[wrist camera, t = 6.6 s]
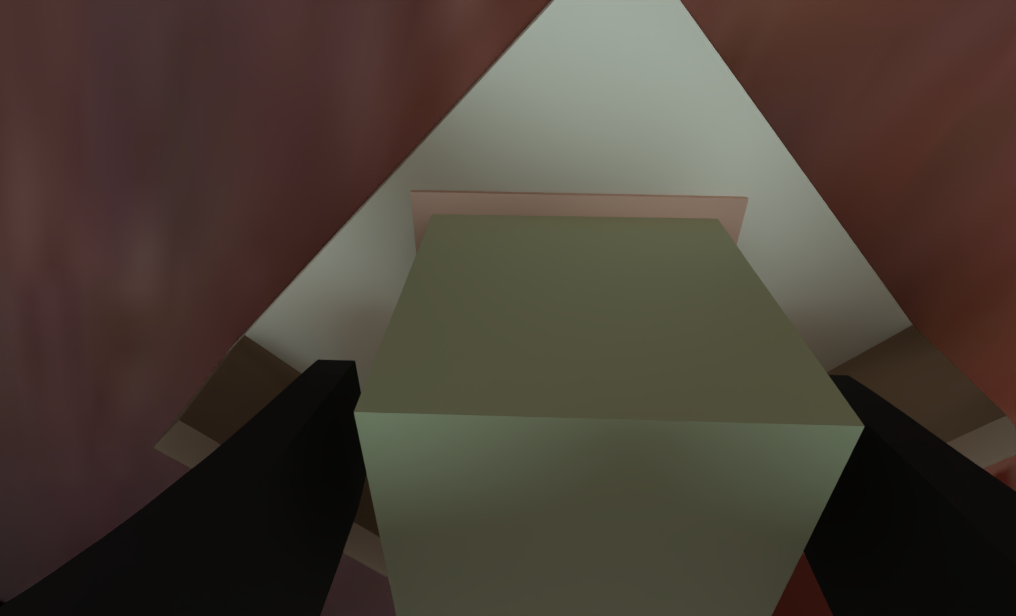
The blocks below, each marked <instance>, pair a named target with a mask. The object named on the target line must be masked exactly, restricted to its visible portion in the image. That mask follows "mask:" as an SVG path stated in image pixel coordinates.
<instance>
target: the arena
mask: <svg viewBox="0 0 1016 616" xmlns="http://www.w3.org/2000/svg"><path fill="white" fill-rule="evenodd" d="M432 214H452V215H517V216H581V217H645V218H709V219H718V220H719V221H720V223H721V224H722V226H723V227H724V229H725V230H726V231H727V233H728V234H729V236H730V237H731V238H732V240H733V241H734V243H735V244H736V245H737V247H738V248H739V250H740V251H741V252H742V254H743V255H744V257H745V258H746V260H747V261H748V262H749V264H750V265H751V267H752V268H753V269H754V271H755V272H756V274H757V275H758V276H759V278H760V279H761V281H762V282H763V284H764V285H765V286H766V288H767V289H768V291H769V292H770V293H771V295H772V296H773V298H774V299H775V300H776V302H777V303H778V305H779V306H780V308H781V309H782V310H783V312H784V313H785V315H786V316H787V317H788V319H789V320H790V322H791V323H792V324H793V326H794V327H795V329H796V330H797V332H798V333H799V334H800V336H801V337H802V339H803V340H804V341H805V343H806V344H807V346H808V347H809V348H810V350H811V351H812V353H813V354H814V356H815V357H816V358H817V360H818V361H819V363H820V364H821V365H822V367H823V368H824V370H825V371H826V372H827V374H828V375H848V376H850V377H852V378H853V379H855V380H856V381H858V382H860V383H861V384H863V385H864V386H866V387H867V388H869V389H870V390H872V391H873V392H875V393H876V394H878V395H879V396H881V397H882V398H884V399H885V400H886V401H888V402H889V403H891V404H892V405H894V406H895V407H896V408H898V409H899V410H901V411H902V412H904V413H905V414H906V415H908V416H909V417H911V418H912V419H913V420H915V421H916V422H918V423H919V424H920V425H922V426H923V427H925V428H926V429H927V430H929V431H930V432H932V433H933V434H934V435H936V436H937V437H939V438H940V439H941V440H943V441H944V442H946V443H947V444H948V445H950V446H951V447H953V448H954V449H955V450H957V451H958V452H960V453H961V454H963V455H964V456H965V457H967V458H968V459H970V460H971V461H972V462H974V463H975V464H977V465H978V466H980V467H981V468H982V469H983V468H985V467H987V466H990V465H992V464H994V463H997V462H999V461H1001V460H1004V459H1006V458H1008V457H1011V456H1013V455H1015V454H1016V428H1015V427H1014V425H1013V424H1012V422H1011V421H1010V420H1009V418H1008V417H1007V415H1006V414H1005V413H1004V412H1003V411H1002V410H1001V409H1000V408H999V407H997V406H996V405H995V404H994V403H993V402H992V401H991V400H990V399H989V398H988V397H987V396H986V395H985V394H984V393H983V392H982V391H981V390H980V389H979V388H978V387H977V386H976V385H975V384H974V383H973V382H972V381H971V380H969V379H968V378H967V377H966V376H965V375H964V374H963V373H962V372H961V371H960V370H959V369H958V368H957V367H956V366H955V365H954V364H953V363H952V362H951V361H950V360H949V359H948V358H947V357H946V356H945V355H944V354H943V353H941V352H940V351H939V350H938V349H937V348H936V347H935V346H934V345H933V344H932V343H931V342H930V341H929V340H928V339H927V338H926V337H925V336H924V335H923V334H922V333H921V332H920V331H919V330H918V329H917V328H916V327H915V326H913V324H912V323H911V322H910V320H909V319H908V317H907V316H906V315H905V313H904V312H903V311H902V309H901V308H900V306H899V305H898V304H897V302H896V301H895V299H894V298H893V297H892V295H891V294H890V292H889V291H888V290H887V288H886V287H885V285H884V284H883V283H882V281H881V280H880V278H879V277H878V276H877V274H876V273H875V271H874V270H873V269H872V267H871V266H870V265H869V263H868V262H867V260H866V259H865V258H864V256H863V255H862V253H861V252H860V251H859V249H858V248H857V246H856V245H855V244H854V242H853V241H852V239H851V238H850V237H849V235H848V234H847V232H846V231H845V230H844V228H843V227H842V226H841V224H840V223H839V221H838V220H837V219H836V217H835V216H834V214H833V213H832V212H831V210H830V209H829V207H828V206H827V205H826V203H825V202H824V200H823V199H822V198H821V196H820V195H819V193H818V192H817V191H816V189H815V188H814V186H813V185H812V184H811V182H810V181H809V180H808V178H807V177H806V175H805V174H804V173H803V171H802V170H801V168H800V167H799V166H798V164H797V163H796V161H795V160H794V159H793V157H792V156H791V154H790V153H789V152H788V150H787V149H786V147H785V146H784V145H783V143H782V142H781V140H780V139H779V138H778V136H777V135H776V134H775V132H774V131H773V129H772V128H771V127H770V125H769V124H768V122H767V121H766V120H765V118H764V117H763V115H762V114H761V113H760V111H759V110H758V108H757V107H756V106H755V104H754V103H753V101H752V100H751V99H750V97H749V96H748V95H747V93H746V92H745V90H744V89H743V88H742V86H741V85H740V83H739V82H738V81H737V79H736V78H735V76H734V75H733V74H732V72H731V71H730V69H729V68H728V67H727V65H726V64H725V62H724V61H723V60H722V58H721V57H720V55H719V54H718V53H717V51H716V50H715V49H714V47H713V46H712V44H711V43H710V42H709V40H708V39H707V37H706V36H705V35H704V33H703V32H702V30H701V29H700V28H699V26H698V25H697V23H696V22H695V21H694V19H693V18H692V16H691V15H690V14H689V12H688V11H687V9H686V8H685V7H684V5H683V4H682V3H681V1H680V0H551V1H550V2H549V3H548V5H547V6H546V7H545V8H544V9H543V10H542V11H541V12H540V13H539V14H538V15H537V16H536V18H535V19H534V20H533V21H532V22H531V23H530V24H529V25H528V26H527V27H526V28H525V29H524V31H523V32H522V33H521V34H520V35H519V36H518V37H517V38H516V39H515V40H514V41H513V42H512V44H511V45H510V46H509V47H508V48H507V49H506V50H505V51H504V52H503V53H502V54H501V55H500V57H499V58H498V59H497V60H496V61H495V62H494V63H493V64H492V65H491V66H490V67H489V68H488V70H487V71H486V72H485V73H484V74H483V75H482V76H481V77H480V78H479V79H478V80H477V81H476V83H475V84H474V85H473V86H472V87H471V88H470V89H469V90H468V91H467V92H466V93H465V94H464V96H463V97H462V98H461V99H460V100H459V101H458V102H457V103H456V104H455V105H454V106H453V107H452V109H451V110H450V111H449V112H448V113H447V114H446V115H445V116H444V117H443V118H442V119H441V120H440V122H439V123H438V124H437V125H436V126H435V127H434V128H433V129H432V130H431V131H430V132H429V133H428V135H427V136H426V137H425V138H424V139H423V140H422V141H421V142H420V143H419V144H418V145H417V146H416V148H415V149H414V150H413V151H412V152H411V153H410V154H409V155H408V156H407V157H406V158H405V159H404V161H403V162H402V163H401V164H400V165H399V166H398V167H397V168H396V169H395V170H394V171H393V172H392V174H391V175H390V176H389V177H388V178H387V179H386V180H385V181H384V182H383V183H382V184H381V185H380V187H379V188H378V189H377V190H376V191H375V192H374V193H373V194H372V195H371V196H370V197H369V198H368V200H367V201H366V202H365V203H364V204H363V205H362V206H361V207H360V208H359V209H358V210H357V211H356V212H355V214H354V215H353V216H352V217H351V218H350V219H349V220H348V221H347V222H346V223H345V224H344V225H343V227H342V228H341V229H340V230H339V231H338V232H337V233H336V234H335V235H334V236H333V237H332V238H331V240H330V241H329V242H328V243H327V244H326V245H325V246H324V247H323V248H322V249H321V250H320V251H319V253H318V254H317V255H316V256H315V257H314V258H313V259H312V260H311V261H310V262H309V263H308V264H307V266H306V267H305V268H304V269H303V270H302V271H301V272H300V273H299V274H298V275H297V276H296V277H295V279H294V280H293V281H292V282H291V283H290V284H289V285H288V286H287V287H286V288H285V289H284V290H283V292H282V293H281V294H280V295H279V296H278V297H277V298H276V299H275V300H274V301H273V302H272V303H271V305H270V306H269V307H268V308H267V309H266V310H265V311H264V312H263V313H262V314H261V315H260V316H259V318H258V319H257V320H256V321H255V322H254V323H253V324H252V325H251V326H250V327H249V328H248V329H247V331H246V332H245V333H244V334H243V335H242V336H241V337H240V338H239V339H238V340H237V341H236V342H235V344H234V345H233V346H232V347H231V348H230V349H229V351H228V352H227V353H226V355H225V356H224V357H223V358H222V360H221V361H220V362H219V364H218V365H217V366H216V367H215V369H214V370H213V371H212V373H211V374H210V375H209V376H208V378H207V379H206V380H205V381H204V383H203V384H202V385H201V387H200V388H199V389H198V390H197V392H196V393H195V394H194V396H193V397H192V398H191V399H190V401H189V402H188V403H187V405H186V406H185V407H184V408H183V410H182V411H181V412H180V414H179V415H178V416H177V417H176V419H175V420H174V421H173V423H172V424H171V425H170V426H169V428H168V429H167V430H166V432H165V433H164V434H163V435H162V437H161V438H160V439H159V441H158V442H157V443H156V444H155V446H154V447H153V448H155V449H156V450H158V451H160V452H162V453H164V454H165V455H167V456H169V457H171V458H173V459H174V460H176V461H178V462H180V463H182V464H184V465H185V466H187V467H189V468H191V469H192V468H194V467H195V466H196V465H197V464H199V463H200V462H201V461H202V460H204V459H205V458H206V457H207V456H209V455H210V454H211V453H212V452H213V451H215V450H216V449H217V448H218V447H219V446H220V445H222V444H223V443H224V442H225V441H226V440H227V439H228V438H230V437H231V436H232V435H233V434H234V433H235V432H237V431H238V430H239V429H240V428H241V427H242V426H243V425H245V424H246V423H247V422H248V421H249V420H250V419H251V418H253V417H254V416H255V415H256V414H257V413H258V412H259V411H260V410H262V409H263V408H264V407H265V406H266V405H267V404H268V403H269V402H271V401H272V400H273V399H274V398H275V397H276V396H277V395H278V394H279V393H281V392H282V391H283V390H284V389H285V388H286V387H287V386H288V385H289V384H291V383H292V382H293V381H294V380H295V379H296V378H297V377H298V376H299V375H301V374H302V373H303V372H304V371H305V370H306V369H307V368H308V367H310V366H311V365H312V364H313V363H314V362H316V361H317V360H318V359H320V360H354V361H355V363H356V368H357V374H358V379H359V384H360V390H361V392H362V390H363V387H364V385H365V382H366V380H367V377H368V375H369V372H370V370H371V367H372V365H373V362H374V360H375V357H376V355H377V352H378V350H379V347H380V345H381V342H382V340H383V337H384V335H385V332H386V330H387V327H388V325H389V322H390V319H391V317H392V314H393V312H394V309H395V307H396V304H397V302H398V299H399V297H400V294H401V292H402V289H403V287H404V284H405V282H406V279H407V277H408V274H409V272H410V269H411V267H412V264H413V262H414V259H415V257H416V254H417V251H418V249H419V246H420V244H421V241H422V239H423V236H424V234H425V231H426V229H427V226H428V224H429V221H430V219H431V216H432ZM343 553H344V554H346V555H348V556H350V557H351V558H353V559H355V560H357V561H359V562H360V563H362V564H364V565H366V566H368V567H369V568H371V569H373V570H375V571H377V572H379V573H380V574H382V575H384V576H386V577H388V573H387V568H386V564H385V559H384V554H383V549H382V545H381V540H380V535H379V530H378V525H377V521H376V516H375V511H374V506H373V502H372V497H371V492H370V487H369V482H368V478H367V473H366V478H365V483H364V487H363V491H362V495H361V499H360V503H359V508H358V511H357V513H356V516H355V519H354V522H353V525H352V528H351V531H350V534H349V536H348V539H347V542H346V545H345V548H344V550H343Z"/></svg>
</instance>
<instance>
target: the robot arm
mask: <svg viewBox="0 0 1016 616" xmlns="http://www.w3.org/2000/svg"><path fill="white" fill-rule="evenodd" d="M829 377H830V378H831V379H832V381H833V382H834V384H835V385H836V387H837V388H838V389H839V391H840V392H841V394H842V395H843V396H844V398H845V399H846V401H847V402H848V403H849V405H850V406H851V408H852V409H853V411H854V412H855V413H856V415H857V416H858V418H859V419H860V420H861V422H862V423H863V425H864V426H865V427H864V429H863V431H862V433H861V435H860V437H859V439H858V441H857V443H856V445H855V447H854V449H853V451H852V453H851V455H850V457H849V459H848V461H847V463H846V465H845V467H844V469H843V471H842V473H841V475H840V477H839V479H838V481H837V484H836V486H835V488H834V490H833V492H832V494H831V496H830V498H829V500H828V502H827V504H826V506H825V508H824V510H823V512H822V514H821V516H820V518H819V520H818V522H817V524H816V526H815V528H814V530H813V532H812V534H811V536H810V538H809V540H808V542H807V544H806V546H805V548H804V553H805V555H806V558H807V560H808V562H809V564H810V566H811V569H812V571H813V573H814V575H815V577H816V580H817V582H818V584H819V586H820V588H821V590H822V593H823V595H824V597H825V599H826V601H827V603H828V605H829V608H830V610H831V612H832V614H833V616H1016V491H1014V490H1013V489H1011V488H1010V487H1008V486H1007V485H1005V484H1004V483H1002V482H1001V481H1000V480H998V479H997V478H995V477H994V476H992V475H991V474H990V473H988V472H987V471H985V470H984V469H982V468H981V467H980V466H978V465H977V464H975V463H974V462H972V461H971V460H970V459H968V458H967V457H965V456H964V455H963V454H961V453H960V452H958V451H957V450H955V449H954V448H953V447H951V446H950V445H948V444H947V443H946V442H944V441H943V440H941V439H940V438H939V437H937V436H936V435H934V434H933V433H932V432H930V431H929V430H927V429H926V428H925V427H923V426H922V425H920V424H919V423H918V422H916V421H915V420H913V419H912V418H911V417H909V416H908V415H906V414H905V413H904V412H902V411H901V410H899V409H898V408H896V407H895V406H894V405H892V404H891V403H889V402H888V401H886V400H885V399H884V398H882V397H881V396H879V395H878V394H876V393H875V392H873V391H872V390H870V389H869V388H867V387H866V386H864V385H863V384H861V383H860V382H858V381H856V380H855V379H853V378H852V377H850V376H848V375H829ZM360 395H361V390H360V384H359V379H358V374H357V368H356V363H355V361H354V360H320V359H318V360H317V361H316V362H314V363H313V364H312V365H311V366H310V367H308V368H307V369H306V370H305V371H304V372H303V373H302V374H301V375H299V376H298V377H297V378H296V379H295V380H294V381H293V382H292V383H291V384H289V385H288V386H287V387H286V388H285V389H284V390H283V391H282V392H281V393H279V394H278V395H277V396H276V397H275V398H274V399H273V400H272V401H271V402H269V403H268V404H267V405H266V406H265V407H264V408H263V409H262V410H260V411H259V412H258V413H257V414H256V415H255V416H254V417H253V418H251V419H250V420H249V421H248V422H247V423H246V424H245V425H243V426H242V427H241V428H240V429H239V430H238V431H237V432H235V433H234V434H233V435H232V436H231V437H230V438H228V439H227V440H226V441H225V442H224V443H223V444H222V445H220V446H219V447H218V448H217V449H216V450H215V451H213V452H212V453H211V454H210V455H209V456H207V457H206V458H205V459H204V460H202V461H201V462H200V463H199V464H197V465H196V466H195V467H194V468H192V469H191V470H190V471H189V472H187V473H186V474H185V475H184V476H182V477H181V478H180V479H179V480H177V481H176V482H175V483H174V484H172V485H171V486H170V487H169V488H167V489H166V490H165V491H164V492H162V493H161V494H160V495H159V496H157V497H156V498H155V499H154V500H152V501H151V502H150V503H149V504H147V505H146V506H145V507H144V508H142V509H141V510H140V511H138V512H137V513H136V514H134V515H133V516H132V517H130V518H129V519H128V520H126V521H125V522H124V523H122V524H121V525H119V526H118V527H117V528H115V529H114V530H113V531H111V532H110V533H109V534H107V535H106V536H104V537H103V538H102V539H100V540H99V541H97V542H96V543H94V544H93V545H92V546H90V547H89V548H87V549H86V550H84V551H83V552H82V553H80V554H79V555H77V556H76V557H74V558H73V559H72V560H70V561H69V562H67V563H66V564H64V565H63V566H62V567H60V568H59V569H57V570H56V571H54V572H53V573H51V574H50V575H48V576H47V577H45V578H44V579H42V580H41V581H39V582H38V583H36V584H35V585H33V586H32V587H30V588H29V589H27V590H26V591H24V592H22V593H21V594H19V595H18V596H16V597H15V598H13V599H11V600H10V601H8V602H7V603H5V604H3V605H2V606H0V616H320V614H321V612H322V609H323V606H324V603H325V600H326V598H327V595H328V592H329V589H330V587H331V584H332V581H333V578H334V576H335V573H336V570H337V567H338V564H339V562H340V559H341V556H342V553H343V550H344V548H345V545H346V542H347V539H348V536H349V534H350V531H351V528H352V525H353V522H354V519H355V516H356V513H357V511H358V508H359V503H360V499H361V495H362V491H363V487H364V483H365V478H366V468H365V463H364V459H363V454H362V449H361V444H360V439H359V435H358V430H357V425H356V420H355V416H354V410H355V408H356V405H357V403H358V400H359V398H360Z"/></svg>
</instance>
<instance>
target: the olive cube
mask: <svg viewBox="0 0 1016 616" xmlns="http://www.w3.org/2000/svg"><path fill="white" fill-rule="evenodd" d="M354 416H355V420H356V425H357V430H358V435H359V439H360V444H361V449H362V454H363V459H364V463H365V468H366V473H367V478H368V482H369V487H370V492H371V497H372V502H373V506H374V511H375V516H376V521H377V525H378V530H379V535H380V540H381V545H382V549H383V554H384V559H385V564H386V568H387V573H388V578H389V583H390V588H391V592H392V597H393V602H394V607H395V611H396V616H771V615H772V613H773V611H774V609H775V607H776V605H777V603H778V601H779V599H780V597H781V595H782V593H783V591H784V589H785V587H786V585H787V583H788V581H789V579H790V577H791V575H792V573H793V571H794V569H795V567H796V564H797V563H798V561H799V559H800V557H801V555H802V553H803V551H804V548H805V546H806V544H807V542H808V540H809V538H810V536H811V534H812V532H813V530H814V528H815V526H816V524H817V522H818V520H819V518H820V516H821V514H822V512H823V510H824V508H825V506H826V504H827V502H828V500H829V498H830V496H831V494H832V492H833V490H834V488H835V486H836V484H837V481H838V479H839V477H840V475H841V473H842V471H843V469H844V467H845V465H846V463H847V461H848V459H849V457H850V455H851V453H852V451H853V449H854V447H855V445H856V443H857V441H858V439H859V437H860V435H861V433H862V431H863V429H864V427H865V426H864V425H863V423H862V422H861V420H860V419H859V418H858V416H857V415H856V413H855V412H854V411H853V409H852V408H851V406H850V405H849V403H848V402H847V401H846V399H845V398H844V396H843V395H842V394H841V392H840V391H839V389H838V388H837V387H836V385H835V384H834V382H833V381H832V379H831V378H830V377H829V375H828V374H827V372H826V371H825V370H824V368H823V367H822V365H821V364H820V363H819V361H818V360H817V358H816V357H815V356H814V354H813V353H812V351H811V350H810V348H809V347H808V346H807V344H806V343H805V341H804V340H803V339H802V337H801V336H800V334H799V333H798V332H797V330H796V329H795V327H794V326H793V324H792V323H791V322H790V320H789V319H788V317H787V316H786V315H785V313H784V312H783V310H782V309H781V308H780V306H779V305H778V303H777V302H776V300H775V299H774V298H773V296H772V295H771V293H770V292H769V291H768V289H767V288H766V286H765V285H764V284H763V282H762V281H761V279H760V278H759V276H758V275H757V274H756V272H755V271H754V269H753V268H752V267H751V265H750V264H749V262H748V261H747V260H746V258H745V257H744V255H743V254H742V252H741V251H740V250H739V248H738V247H737V245H736V244H735V243H734V241H733V240H732V238H731V237H730V236H729V234H728V233H727V231H726V230H725V229H724V227H723V226H722V224H721V223H720V221H719V220H718V219H709V218H645V217H581V216H517V215H452V214H432V216H431V219H430V221H429V224H428V226H427V229H426V231H425V234H424V236H423V239H422V241H421V244H420V246H419V249H418V251H417V254H416V257H415V259H414V262H413V264H412V267H411V269H410V272H409V274H408V277H407V279H406V282H405V284H404V287H403V289H402V292H401V294H400V297H399V299H398V302H397V304H396V307H395V309H394V312H393V314H392V317H391V319H390V322H389V325H388V327H387V330H386V332H385V335H384V337H383V340H382V342H381V345H380V347H379V350H378V352H377V355H376V357H375V360H374V362H373V365H372V367H371V370H370V372H369V375H368V377H367V380H366V382H365V385H364V387H363V390H362V392H361V395H360V398H359V400H358V403H357V405H356V408H355V410H354Z"/></svg>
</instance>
